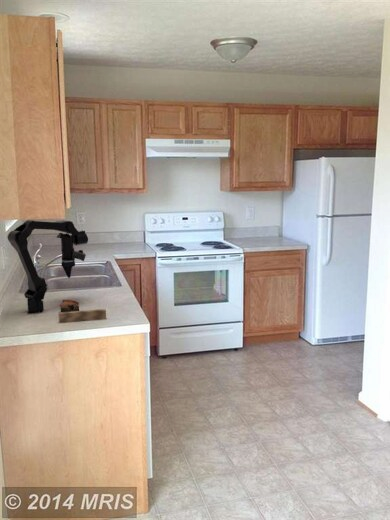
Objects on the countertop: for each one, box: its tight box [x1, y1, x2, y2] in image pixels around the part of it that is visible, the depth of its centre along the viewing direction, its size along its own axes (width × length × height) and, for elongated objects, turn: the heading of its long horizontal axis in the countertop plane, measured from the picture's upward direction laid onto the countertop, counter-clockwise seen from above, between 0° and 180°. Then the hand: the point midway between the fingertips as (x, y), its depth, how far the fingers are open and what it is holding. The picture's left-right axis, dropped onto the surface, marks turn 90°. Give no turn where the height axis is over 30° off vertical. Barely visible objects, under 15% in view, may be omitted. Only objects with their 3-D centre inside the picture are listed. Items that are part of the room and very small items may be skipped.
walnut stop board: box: [58, 308, 107, 324], centre depth 207 cm, size 20×2×4 cm, turn 105°
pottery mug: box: [58, 299, 80, 314], centre depth 214 cm, size 12×10×8 cm
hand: (69, 277), depth 232 cm, fingers closed
